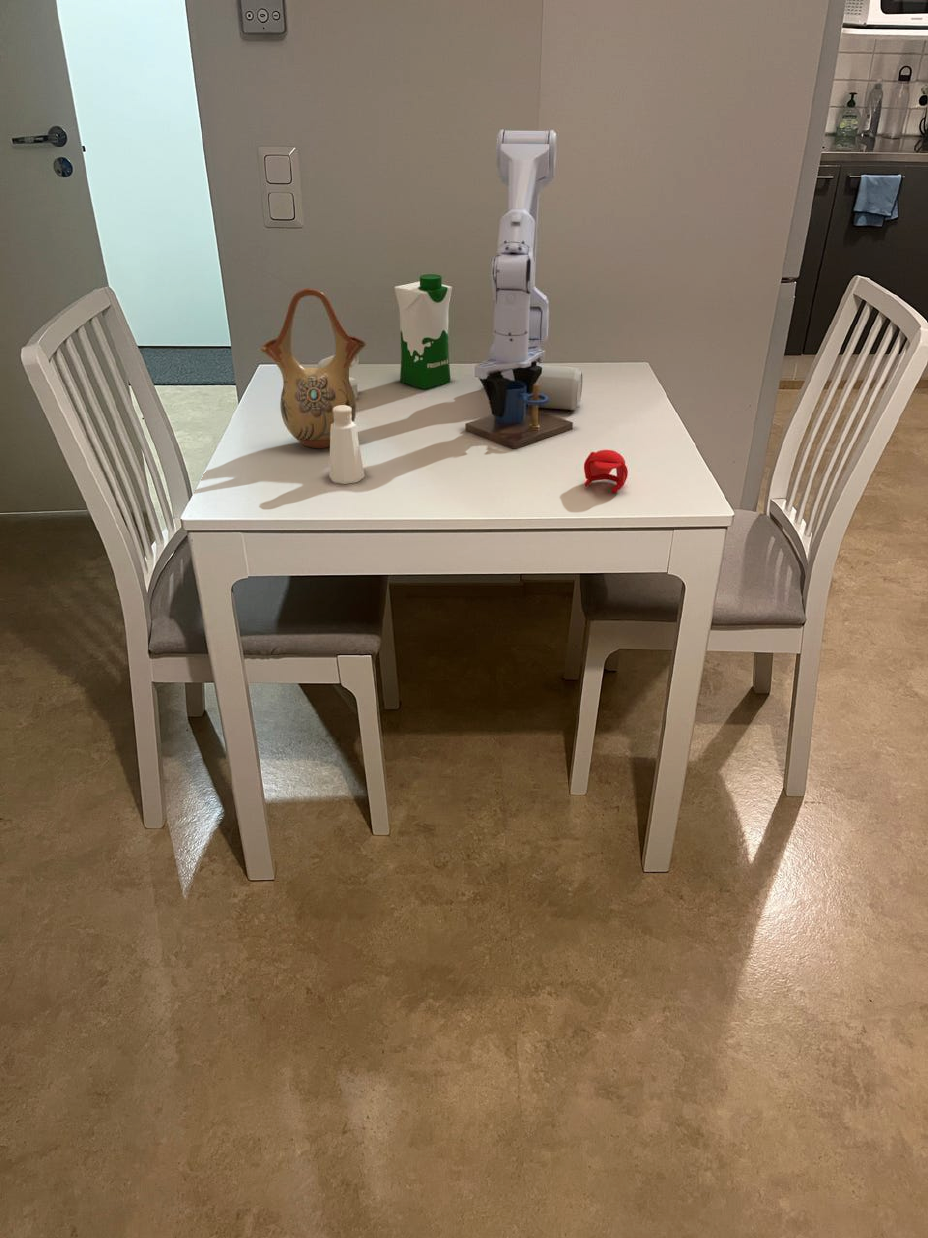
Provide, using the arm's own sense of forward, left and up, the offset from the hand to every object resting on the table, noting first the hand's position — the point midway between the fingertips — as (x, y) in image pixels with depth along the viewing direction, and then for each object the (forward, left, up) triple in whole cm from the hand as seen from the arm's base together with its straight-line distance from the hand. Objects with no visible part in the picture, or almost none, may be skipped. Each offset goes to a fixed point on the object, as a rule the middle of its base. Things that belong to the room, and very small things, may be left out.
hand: (509, 411), depth 163 cm
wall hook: (-33, -13, -3) cm, 35 cm away
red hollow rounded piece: (+28, -8, -3) cm, 30 cm away
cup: (+3, 0, -1) cm, 3 cm away
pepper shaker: (-1, -34, -3) cm, 34 cm away
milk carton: (-29, +5, -3) cm, 29 cm away
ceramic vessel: (-15, -29, -3) cm, 33 cm away
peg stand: (+2, 0, -3) cm, 4 cm away
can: (+2, +15, +1) cm, 16 cm away
